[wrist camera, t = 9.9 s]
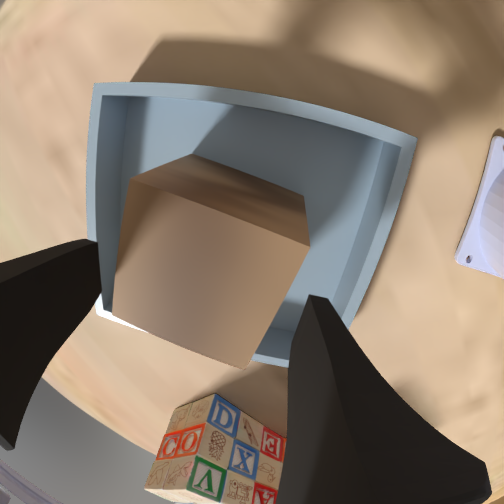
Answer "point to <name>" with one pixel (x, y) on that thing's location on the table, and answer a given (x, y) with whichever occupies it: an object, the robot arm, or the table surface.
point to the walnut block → (207, 256)
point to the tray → (262, 166)
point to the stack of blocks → (217, 457)
